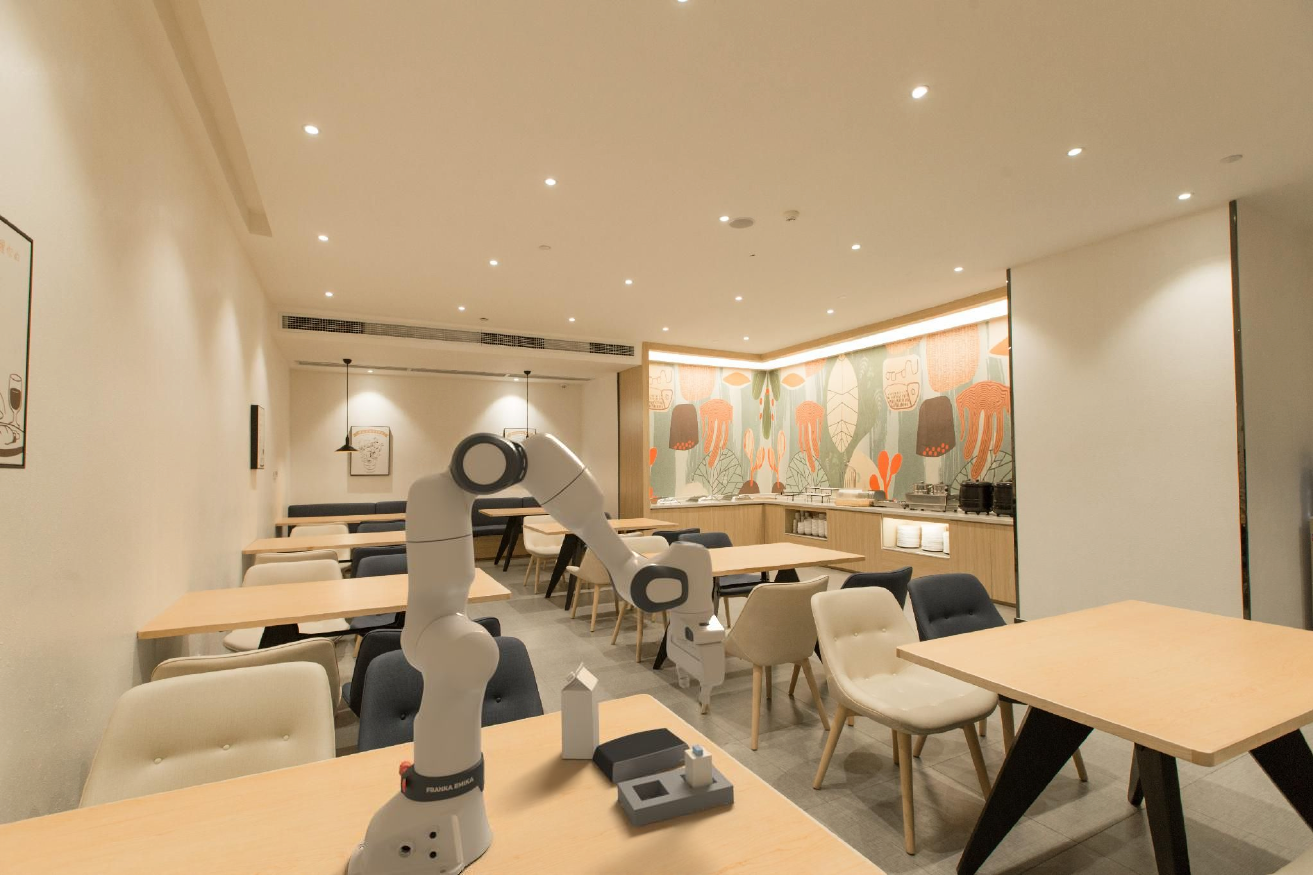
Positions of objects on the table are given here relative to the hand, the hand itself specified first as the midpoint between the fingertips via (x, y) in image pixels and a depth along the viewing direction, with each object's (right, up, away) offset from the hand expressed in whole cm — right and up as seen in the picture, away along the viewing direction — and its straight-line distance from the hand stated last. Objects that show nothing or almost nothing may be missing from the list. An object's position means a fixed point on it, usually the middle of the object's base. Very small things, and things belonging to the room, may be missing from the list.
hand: (693, 694), depth 115 cm
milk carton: (-25, -21, +18) cm, 37 cm away
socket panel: (-4, -19, -3) cm, 20 cm away
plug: (+1, -19, -1) cm, 19 cm away
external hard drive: (-10, -21, +13) cm, 27 cm away
